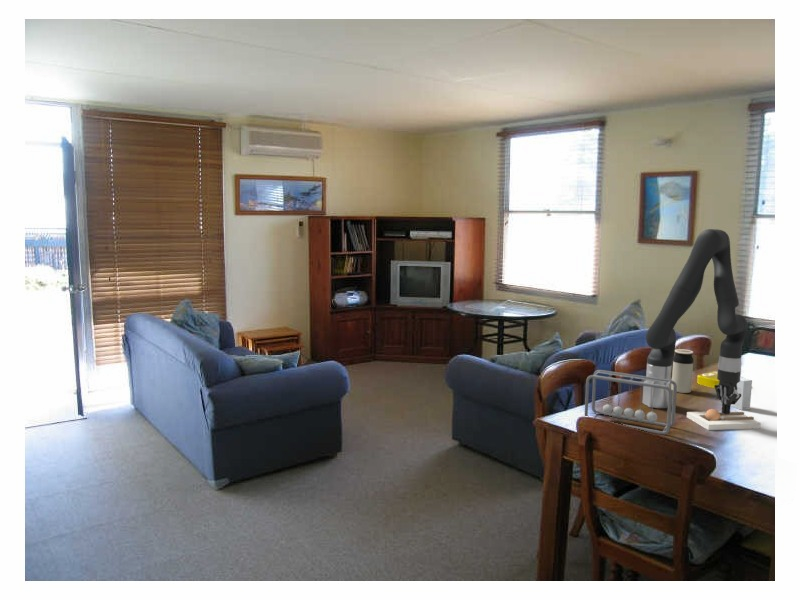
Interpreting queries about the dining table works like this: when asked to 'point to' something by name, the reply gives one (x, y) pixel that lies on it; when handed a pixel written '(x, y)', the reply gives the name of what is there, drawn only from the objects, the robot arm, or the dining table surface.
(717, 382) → the element tile
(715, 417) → the ball
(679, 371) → the travel mug
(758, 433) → the dining table surface
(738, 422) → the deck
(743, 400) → the skincare box
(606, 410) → the newton's cradle
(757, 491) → the dining table surface
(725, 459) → the dining table surface
